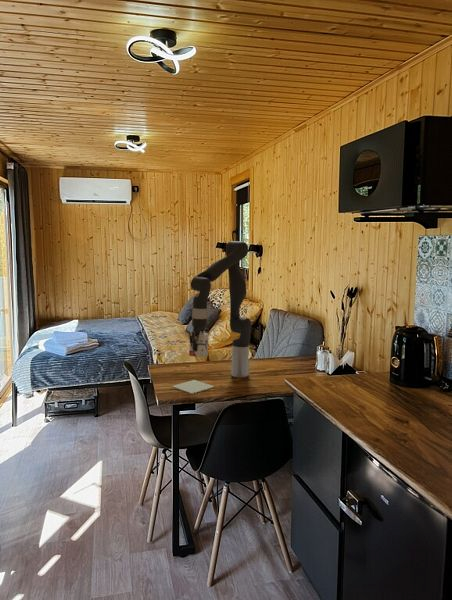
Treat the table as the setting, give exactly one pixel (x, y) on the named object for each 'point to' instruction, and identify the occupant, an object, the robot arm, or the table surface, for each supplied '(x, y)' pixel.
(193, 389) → the mat
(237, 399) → the table surface
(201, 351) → the ink box
